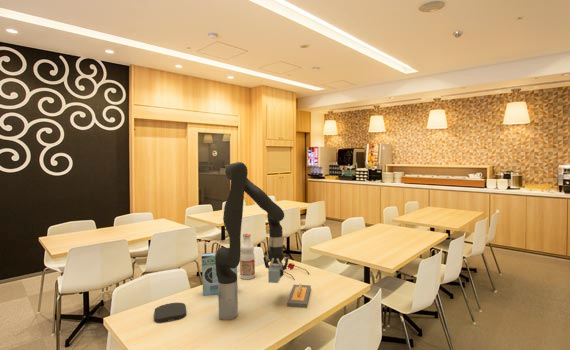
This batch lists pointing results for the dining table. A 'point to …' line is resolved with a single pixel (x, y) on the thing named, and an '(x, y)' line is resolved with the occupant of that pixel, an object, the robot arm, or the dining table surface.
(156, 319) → the media streaming box
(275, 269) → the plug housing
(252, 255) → the fruit juice
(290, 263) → the glasses
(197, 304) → the dining table surface
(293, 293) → the board
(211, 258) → the blue flat upright box
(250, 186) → the robot arm
